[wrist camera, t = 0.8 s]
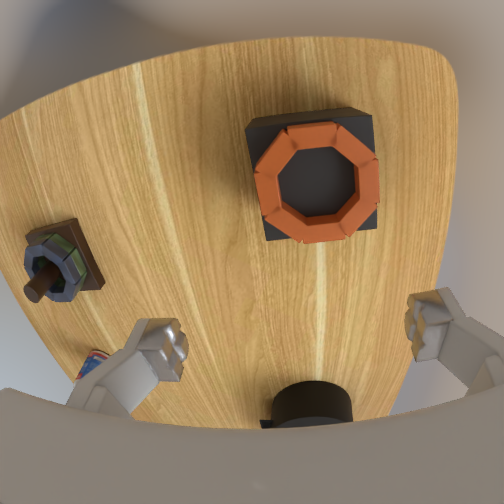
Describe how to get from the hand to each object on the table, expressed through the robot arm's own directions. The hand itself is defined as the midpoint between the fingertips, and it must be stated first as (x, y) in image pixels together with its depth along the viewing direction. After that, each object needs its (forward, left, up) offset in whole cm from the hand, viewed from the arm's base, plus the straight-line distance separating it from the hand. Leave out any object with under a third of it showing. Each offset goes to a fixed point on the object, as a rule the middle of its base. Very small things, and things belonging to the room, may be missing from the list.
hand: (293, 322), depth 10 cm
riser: (-1, +2, -18) cm, 19 cm away
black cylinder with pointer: (+39, -1, -19) cm, 44 cm away
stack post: (+5, -28, -18) cm, 34 cm away
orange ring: (-1, +2, -12) cm, 13 cm away
